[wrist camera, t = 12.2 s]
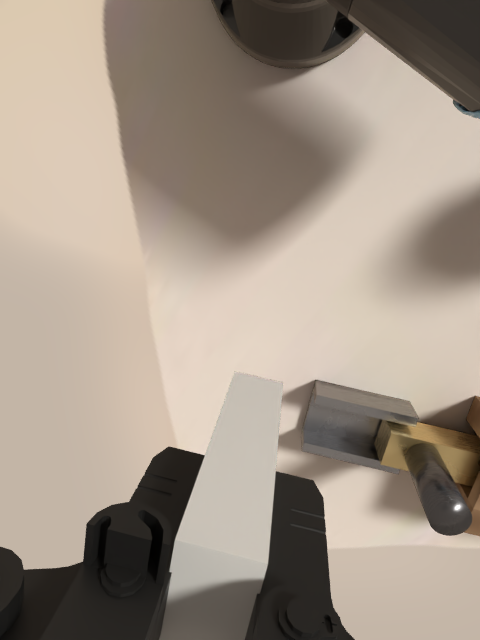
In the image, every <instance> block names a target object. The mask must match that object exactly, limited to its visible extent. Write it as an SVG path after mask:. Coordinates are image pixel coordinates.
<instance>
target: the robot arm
mask: <svg viewBox="0 0 480 640" xmlns="http://www.w3.org/2000/svg"><path fill="white" fill-rule="evenodd" d="M212 3H213V5H214V8H215V10H216V12H217V14H218V17H219V19H220V21H221V23H222V25H223V26H224V28H225V29H226V31H227V33H228V34H229V35H230V37H231V38H232V39H233V40H234V41H235V43H236V44H237V45H238V46H239V47H240V48H242V49H243V50H244V51H245V52H246V53H248V54H249V55H251V56H252V57H254V58H255V59H257V60H259V61H261V62H264V63H266V64H269V65H272V66H276V67H281V68H305V67H310V66H315V65H318V64H321V63H324V62H326V61H328V60H330V59H332V58H334V57H336V56H338V55H339V54H341V53H342V52H344V51H345V50H347V49H348V48H349V47H350V46H352V45H353V44H354V43H355V42H356V41H357V40H358V39H359V38H360V37H361V36H362V35H363V34H364V33H365V32H366V33H367V34H368V35H370V36H371V37H372V38H374V39H375V40H376V41H377V42H379V43H380V44H381V45H383V46H384V47H385V48H387V49H388V50H389V51H391V52H392V53H393V54H394V55H396V56H397V57H398V58H400V59H401V60H402V61H404V62H405V63H406V64H407V65H409V66H410V67H411V68H413V69H414V70H415V71H417V72H418V73H419V74H421V75H422V76H423V77H424V78H426V79H427V80H428V81H430V82H431V83H432V84H434V85H435V86H436V87H438V88H439V89H440V90H441V91H443V92H444V93H445V94H447V95H448V96H449V97H451V98H452V99H453V104H454V106H455V107H456V108H457V109H458V110H459V111H460V112H462V113H463V114H466V115H469V116H472V117H474V118H478V119H480V0H212ZM282 391H283V382H279V381H275V380H271V379H266V378H262V377H258V376H253V375H249V374H245V373H240V372H236V371H235V372H234V375H233V378H232V381H231V384H230V386H229V389H228V392H227V395H226V398H225V401H224V403H223V406H222V409H221V412H220V415H219V417H218V420H217V423H216V426H215V429H214V431H213V434H212V437H211V440H210V443H209V445H208V448H207V451H206V454H205V455H201V454H197V453H193V452H189V451H185V450H181V449H177V448H173V447H167V448H166V449H165V450H163V451H162V452H160V453H159V454H158V455H156V456H155V457H153V459H152V461H151V463H150V465H149V466H148V468H147V470H146V472H145V475H144V476H143V477H142V479H141V481H140V483H139V485H138V488H137V489H136V490H135V492H134V494H133V496H132V497H131V499H130V501H129V502H126V503H120V504H115V505H111V506H109V507H107V508H105V509H103V510H101V511H99V512H97V513H96V514H95V515H94V517H93V518H92V519H91V520H90V521H89V522H88V523H87V528H86V538H85V549H84V559H83V562H81V563H78V564H75V565H72V566H69V567H61V568H52V569H30V570H24V569H23V565H22V560H21V559H20V558H19V557H18V556H17V555H16V554H15V553H14V552H13V551H12V550H9V549H6V548H3V547H0V640H355V639H353V637H352V636H351V635H349V633H348V632H346V630H345V628H344V627H343V625H342V624H341V620H340V617H339V616H338V614H337V613H336V612H335V610H334V608H333V604H332V599H331V592H330V579H329V568H328V554H327V540H326V535H325V532H326V528H325V519H324V516H325V515H324V502H323V497H322V495H321V493H320V491H319V490H318V488H317V486H316V484H315V483H314V481H313V480H309V479H305V478H301V477H297V476H293V475H289V474H285V473H280V472H276V462H277V450H278V438H279V427H280V415H281V403H282Z"/></svg>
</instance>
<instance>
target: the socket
mask: <svg viewBox="0 0 480 640" xmlns="http://www.w3.org/2000/svg"><path fill="white" fill-rule="evenodd" d="M466 420H467V421H468V423H469V424H470V425H471V427H472V428H473V430H474V431H475V432H476V434H477V435H478V436H479V438H480V397H478V396H475V398H474V400H473V403H472V405H471V408H470V410H469V413H468V415H467V418H466ZM455 484H456V485H457V487H458V489H459V491H460V493H461V495H462V497H463V499H464V500H465V502H466V504H467V506H468V508H469V510H470V512H471V514H472V523H471V525H470V527H469V528H468V529H467V530H466V531H464V532H465V533H469V534H473V535H477V536H480V471H479V474H478V476H477V478H476V481H475V483H474V485H473V487H472V486H468V485H464V484H460V483H455Z"/></svg>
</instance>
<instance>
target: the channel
mask: <svg viewBox="0 0 480 640" xmlns="http://www.w3.org/2000/svg"><path fill="white" fill-rule="evenodd" d="M418 419H419V418H418V416H417V414H416V412H415V410H414V408H413V406H412V405H411V403H410V401H406V400H402V399H397V398H393V397H389V396H384V395H380V394H375V393H371V392H367V391H362V390H358V389H354V388H349V387H345V386H340V385H336V384H332V383H327V382H323V381H319V380H315V384H314V388H313V391H312V395H311V399H310V403H309V406H308V410H307V414H306V417H305V421H304V425H303V429H302V432H301V441H302V451H304V452H308V453H312V454H317V455H321V456H325V457H329V458H333V459H337V460H341V461H346V462H350V463H354V464H358V465H362V466H366V467H371V468H375V469H379V470H383V471H387V472H391V473H395V474H399V471H400V469H397V468H393V467H389V466H385V465H381V464H380V461H379V458H378V454H377V451H376V448H375V444H374V443H375V440H376V437H377V434H378V431H379V428H380V425H381V422H382V420H387V421H391V422H395V423H400V424H404V425H408V426H413V427H416V424H417V422H418Z"/></svg>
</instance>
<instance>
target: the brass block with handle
mask: <svg viewBox="0 0 480 640" xmlns="http://www.w3.org/2000/svg"><path fill="white" fill-rule="evenodd" d="M374 444H375V448H376V451H377V454H378V458H379V461H380V464H381V465H385V466H389V467H393V468H397V469H401V470H405V471H409V472H410V475H411V477H412V480H413V482H414V485H415V487H416V490H417V493H418V495H419V498H420V500H421V503H422V505H423V508H424V510H425V513H426V516H427V518H428V521H429V523H430V525H431V527H432V528H433V529H434V530H435V531H436V532H438V533H440V534H443V535H449V536H452V535H458V534H461V533H463V532H464V531H466V530H467V529H468V528H469V527H470V525H471V523H472V514H471V512H470V510H469V508H468V506H467V504H466V502H465V500H464V499H463V497H462V495H461V493H460V491H459V489H458V487H457V485H456V484H455V483H460V484H464V485H468V486H472V487H473V485H474V483H475V481H476V478H477V476H478V474H479V471H480V438H479V436H475V435H471V434H467V433H462V432H458V431H454V430H449V429H445V428H441V427H436V426H432V425H428V424H423V423H419V422H417V424H416V427H413V426H408V425H404V424H400V423H395V422H391V421H387V420H382V422H381V425H380V428H379V431H378V434H377V437H376V440H375V443H374Z"/></svg>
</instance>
